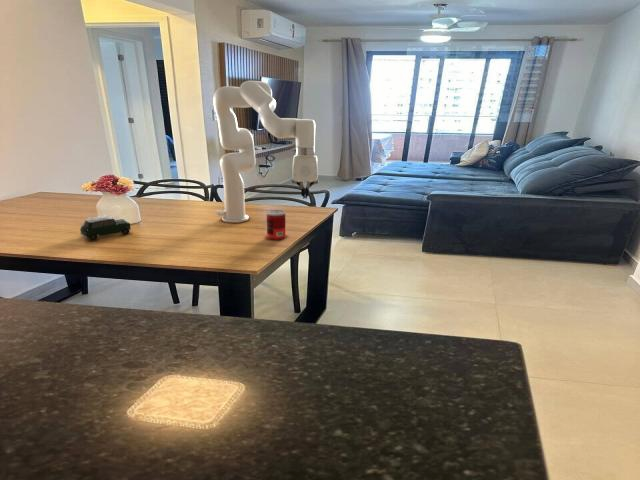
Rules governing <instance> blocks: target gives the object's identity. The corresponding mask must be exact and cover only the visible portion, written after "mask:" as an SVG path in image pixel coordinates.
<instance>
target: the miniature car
mask: <svg viewBox="0 0 640 480" xmlns="http://www.w3.org/2000/svg"><path fill="white" fill-rule="evenodd" d="M130 230H132V226H131V223H130V222H128V221H126V220H125V219H122V218H121V219H120V218H119V219H115V218H114V217H113V216H111V215H107V214H106V215H97V216H92V217H88V218H85V220H84V222H83V224H82V225H81V226H80V229H79V231H80V232H79V234H80V236H81V237H83V238H84V239H85V238H87V239H89V240H90V241H92V242H95V241H96V240H98V237H103V236H109V235H115V234H119V233H121V234H122V235H124V236H125V235H129V234H130V232H131V231H130Z"/></svg>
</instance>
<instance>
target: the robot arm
mask: <svg viewBox="0 0 640 480" xmlns="http://www.w3.org/2000/svg"><path fill="white" fill-rule="evenodd" d="M212 104H213V109H214V113H215V117H216V120H217V126H218V134H219V140H220V141H219V142H220V145H221V147H222V149H224V150H227V151H235V150H238V152H228V153H225V154H224V155H222V156H221V158H220V159H219V167H220V171H221V175H222V185H223V201H224V202H223V203H224V209H223V210H215V215H217V216H219V217H220V216H222V217H221V220H222V221H223V222H225V223H230V224H234V223H235V224H236V223H244V222H247V221H248V220H249V215H248V214H246V204H245V203H246V201H245V200H246V198H245V182H244V180H243V178H242V176H241V174H242V173H243V174H244V173H249V172H251V171H253V170H254V169H255V167H256V161H257V160H256V152H255V151H256V149H255V143H254V142H255V141H254V137H253V134H252V133H251V131H250V130H249V129H248V128H244V127H238V126H239V125H238V120H237V116H236V114H235V112H234V111H233V110H232V108H242V109H243V108H245V109H247V108H252V109H253V110H254V111H255V112H256V113H258V114H259V120H260V122H261V125H262V126H263V128H264V129H265V130H266V131H267V132H268V133H270V134H271V135H272V136H273V137H275V138H277V139H295V147H294V148H292V149H291V153H294V154H295V155H293V158H292V166H291V167H292V171H291V176H292V178H291V183H292V184H293V185H294V184H295V185H297V186H298V187H299V188H300V189H301V190H300V191H301V192H300V194H301V195H300V196H301V197H302V199H303V200H304V199H308V197H309V196H310V188H311V187H312V186H313V185H317V184H319V164H318V163H319V162H318V156H317V155H315V154H316V153H315V152H316V122H315V120H314V119H310V118H295V117H291V118H290V117H279V116H278V115H277V114H276V113H275V112H274V111H275V110H276V107H277V102H276V99H275V98H274V97H273V91H272V88H271V86H270V85H269V84H268V82H265V81H259V80H245V81H243V82H241V84H240V86H231V85H225V86H220V87H218V88H217V89H216V90H215V92H214V94H213V97H212ZM304 183H306V186H304Z"/></svg>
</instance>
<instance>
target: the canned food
mask: <svg viewBox="0 0 640 480" xmlns="http://www.w3.org/2000/svg"><path fill="white" fill-rule="evenodd" d="M286 214H287V213H286V211H285V210H283V209H270V210H268V211H266V236H267V239H268V240H273V241H280V240H284V239H285V238H286V234H287V233H286V231H287V229H286V228H287V227H286V226H287V225H286V224H287V223H286V222H287V221H286V220H287V217H286Z"/></svg>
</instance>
